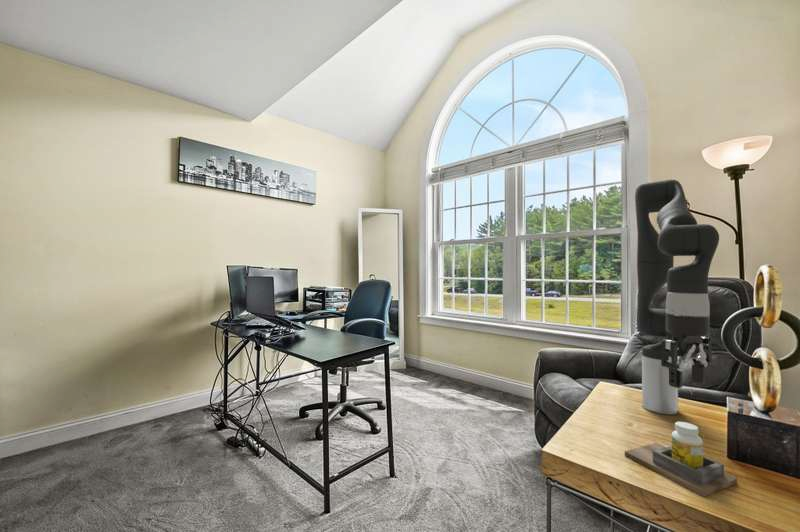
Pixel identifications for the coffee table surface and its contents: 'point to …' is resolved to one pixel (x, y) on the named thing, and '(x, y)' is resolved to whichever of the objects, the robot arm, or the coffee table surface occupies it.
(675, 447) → the supplement bottle
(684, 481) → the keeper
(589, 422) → the coffee table surface
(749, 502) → the coffee table surface
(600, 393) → the coffee table surface
